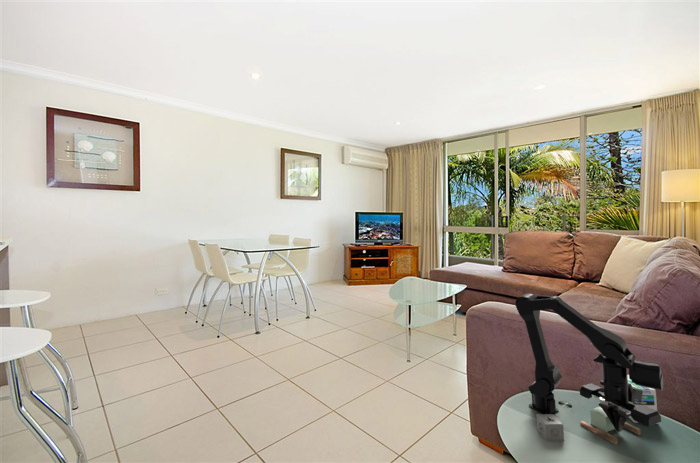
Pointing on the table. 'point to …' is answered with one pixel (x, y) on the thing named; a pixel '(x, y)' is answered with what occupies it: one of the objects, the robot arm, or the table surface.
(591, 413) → the sage block
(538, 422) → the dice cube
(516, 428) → the table surface
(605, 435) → the pair of wooden sticks
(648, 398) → the light bulb box
